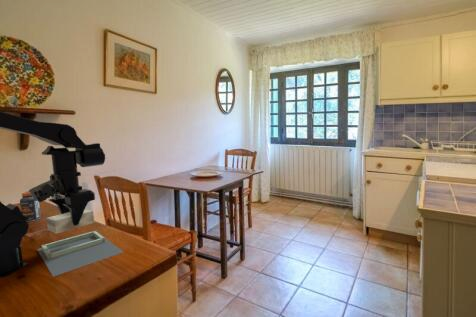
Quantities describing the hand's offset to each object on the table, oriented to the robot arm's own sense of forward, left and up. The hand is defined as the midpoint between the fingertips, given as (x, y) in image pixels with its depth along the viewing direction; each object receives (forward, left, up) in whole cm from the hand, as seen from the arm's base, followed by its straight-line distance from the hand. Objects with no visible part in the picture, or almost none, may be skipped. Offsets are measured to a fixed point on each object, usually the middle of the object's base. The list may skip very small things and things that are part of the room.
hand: (71, 223), depth 77 cm
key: (+15, +18, -8) cm, 25 cm away
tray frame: (0, 0, -7) cm, 7 cm away
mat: (-3, -4, -7) cm, 9 cm away
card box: (0, 0, -1) cm, 1 cm away
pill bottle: (+27, +36, -7) cm, 46 cm away
